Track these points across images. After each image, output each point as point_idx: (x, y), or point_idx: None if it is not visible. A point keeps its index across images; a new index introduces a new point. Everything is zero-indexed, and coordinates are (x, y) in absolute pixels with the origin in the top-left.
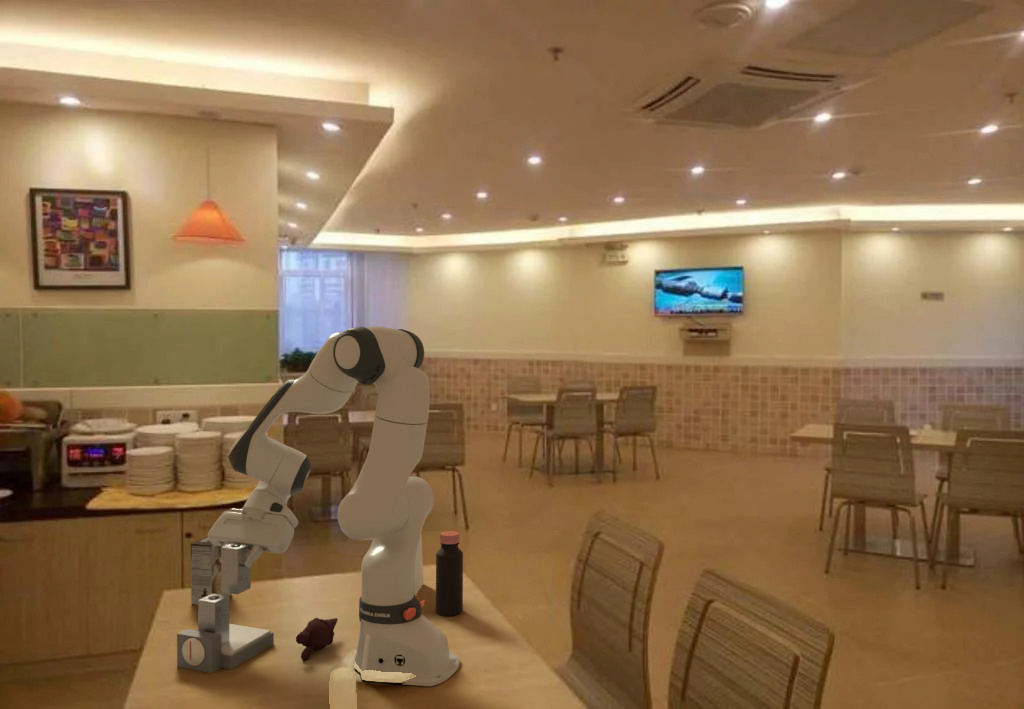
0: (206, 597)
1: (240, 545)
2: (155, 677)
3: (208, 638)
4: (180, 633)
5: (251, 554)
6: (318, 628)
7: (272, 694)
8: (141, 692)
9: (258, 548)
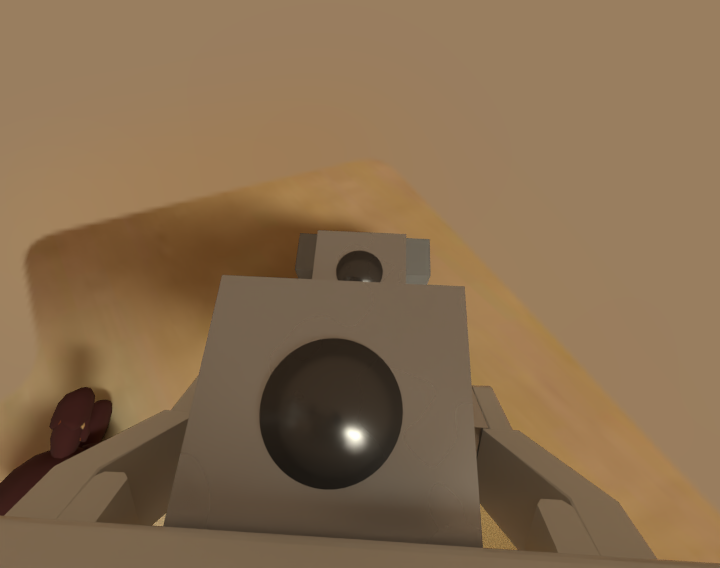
0: (395, 267)
1: (262, 417)
2: (419, 229)
3: (314, 236)
4: (420, 242)
5: (144, 431)
6: (9, 480)
7: (129, 235)
8: (394, 177)
9: (23, 508)
